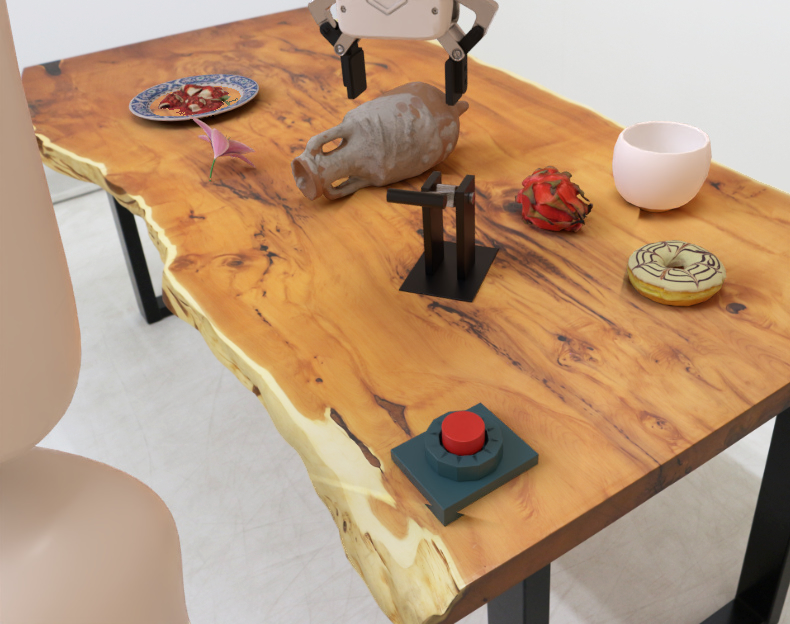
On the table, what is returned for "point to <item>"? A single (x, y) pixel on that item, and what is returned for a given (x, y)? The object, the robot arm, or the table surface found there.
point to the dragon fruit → (552, 200)
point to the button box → (462, 465)
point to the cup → (660, 164)
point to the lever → (424, 197)
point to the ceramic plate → (194, 96)
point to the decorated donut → (675, 273)
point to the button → (463, 433)
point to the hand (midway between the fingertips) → (404, 97)
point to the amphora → (381, 142)
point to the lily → (223, 144)
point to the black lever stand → (450, 249)
